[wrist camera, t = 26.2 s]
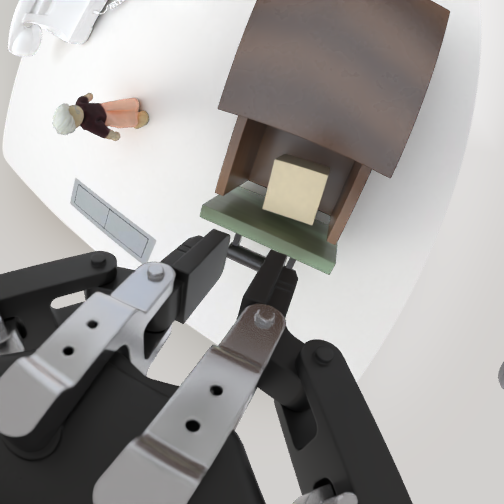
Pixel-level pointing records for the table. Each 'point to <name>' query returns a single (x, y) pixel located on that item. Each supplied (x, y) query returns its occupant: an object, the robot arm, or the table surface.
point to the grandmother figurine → (99, 116)
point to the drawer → (272, 224)
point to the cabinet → (338, 72)
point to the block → (296, 188)
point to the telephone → (53, 22)
